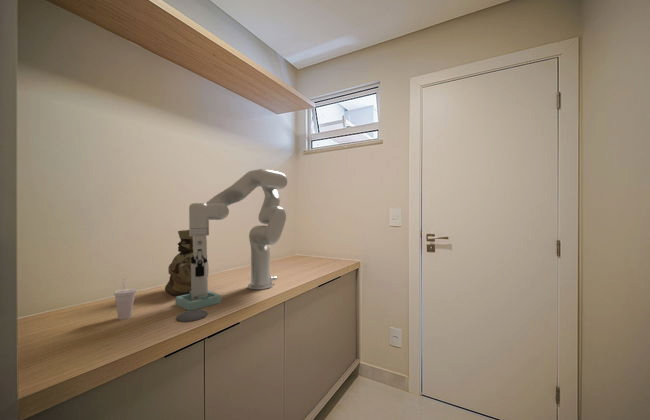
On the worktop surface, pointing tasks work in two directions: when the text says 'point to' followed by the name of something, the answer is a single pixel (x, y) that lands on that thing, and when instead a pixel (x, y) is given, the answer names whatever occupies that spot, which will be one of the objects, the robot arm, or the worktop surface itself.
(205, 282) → the travel mug
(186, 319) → the pad
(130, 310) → the smoothie
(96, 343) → the worktop surface
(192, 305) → the dock collar
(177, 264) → the ceramic vessel
